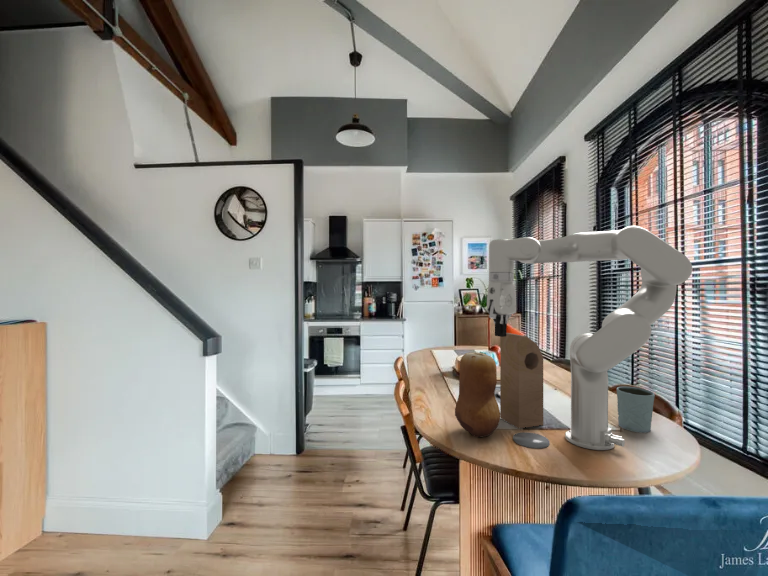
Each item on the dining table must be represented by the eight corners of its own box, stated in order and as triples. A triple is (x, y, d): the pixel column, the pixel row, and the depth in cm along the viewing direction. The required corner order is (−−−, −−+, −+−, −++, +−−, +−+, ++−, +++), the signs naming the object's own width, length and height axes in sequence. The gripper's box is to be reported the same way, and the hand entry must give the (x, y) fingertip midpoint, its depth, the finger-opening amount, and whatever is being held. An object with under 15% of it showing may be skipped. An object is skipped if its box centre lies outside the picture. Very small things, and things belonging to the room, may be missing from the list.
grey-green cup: (616, 419, 124) (616, 384, 124) (652, 425, 119) (652, 389, 119) (617, 429, 115) (617, 392, 115) (656, 436, 110) (656, 397, 110)
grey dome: (555, 442, 106) (555, 439, 106) (538, 451, 100) (538, 449, 100) (524, 431, 114) (524, 429, 114) (506, 439, 108) (506, 437, 108)
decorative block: (500, 418, 125) (499, 331, 125) (523, 415, 128) (523, 330, 128) (518, 428, 116) (518, 335, 116) (543, 425, 119) (543, 334, 119)
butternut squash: (508, 434, 112) (508, 353, 112) (485, 447, 102) (485, 359, 103) (470, 422, 122) (470, 348, 122) (445, 433, 113) (445, 352, 113)
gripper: (498, 277, 107) (497, 339, 107) (524, 278, 117) (523, 335, 117) (476, 278, 113) (476, 336, 113) (503, 279, 123) (503, 333, 123)
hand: (500, 336), depth 115 cm, fingers closed
